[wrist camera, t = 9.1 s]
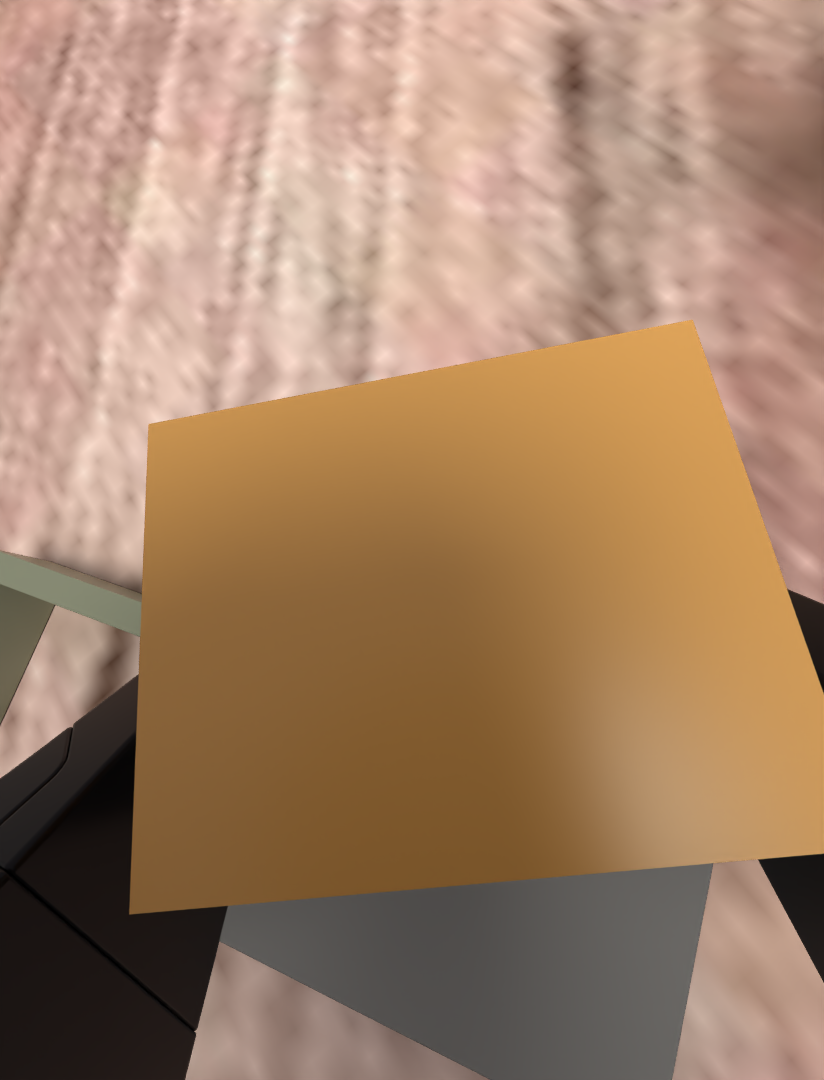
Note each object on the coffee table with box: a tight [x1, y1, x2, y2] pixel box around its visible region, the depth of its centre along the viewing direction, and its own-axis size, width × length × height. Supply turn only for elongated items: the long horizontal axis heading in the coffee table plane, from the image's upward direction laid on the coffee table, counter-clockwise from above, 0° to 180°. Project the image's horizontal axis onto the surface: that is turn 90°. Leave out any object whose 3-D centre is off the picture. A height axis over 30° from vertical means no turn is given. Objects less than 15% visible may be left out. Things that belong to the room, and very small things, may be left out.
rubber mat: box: [219, 863, 713, 1080], centre depth 15 cm, size 15×13×1 cm
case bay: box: [0, 550, 142, 723], centre depth 16 cm, size 11×11×2 cm
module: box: [129, 320, 824, 914], centre depth 10 cm, size 4×5×12 cm
